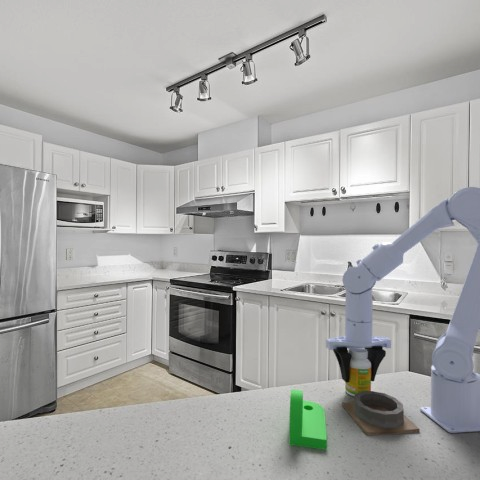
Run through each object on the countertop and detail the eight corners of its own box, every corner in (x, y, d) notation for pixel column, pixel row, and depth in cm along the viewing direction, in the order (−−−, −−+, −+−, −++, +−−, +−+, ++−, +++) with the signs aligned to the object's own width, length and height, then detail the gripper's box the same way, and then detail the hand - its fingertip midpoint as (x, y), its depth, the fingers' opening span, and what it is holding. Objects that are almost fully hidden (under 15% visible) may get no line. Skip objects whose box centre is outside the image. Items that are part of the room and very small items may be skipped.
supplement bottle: (358, 401, 67) (359, 355, 67) (340, 390, 72) (340, 347, 72) (376, 395, 70) (376, 351, 70) (356, 385, 75) (357, 344, 75)
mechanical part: (326, 452, 51) (327, 403, 51) (289, 446, 53) (290, 398, 53) (323, 412, 63) (324, 372, 63) (293, 409, 64) (293, 369, 64)
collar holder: (387, 403, 66) (387, 388, 66) (419, 432, 56) (419, 414, 56) (342, 405, 65) (342, 390, 65) (366, 435, 55) (366, 417, 55)
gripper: (379, 314, 76) (378, 371, 76) (321, 315, 74) (320, 373, 74) (397, 322, 69) (396, 384, 69) (333, 323, 67) (332, 387, 67)
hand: (358, 379), depth 71 cm, fingers closed on supplement bottle, 5 cm apart
